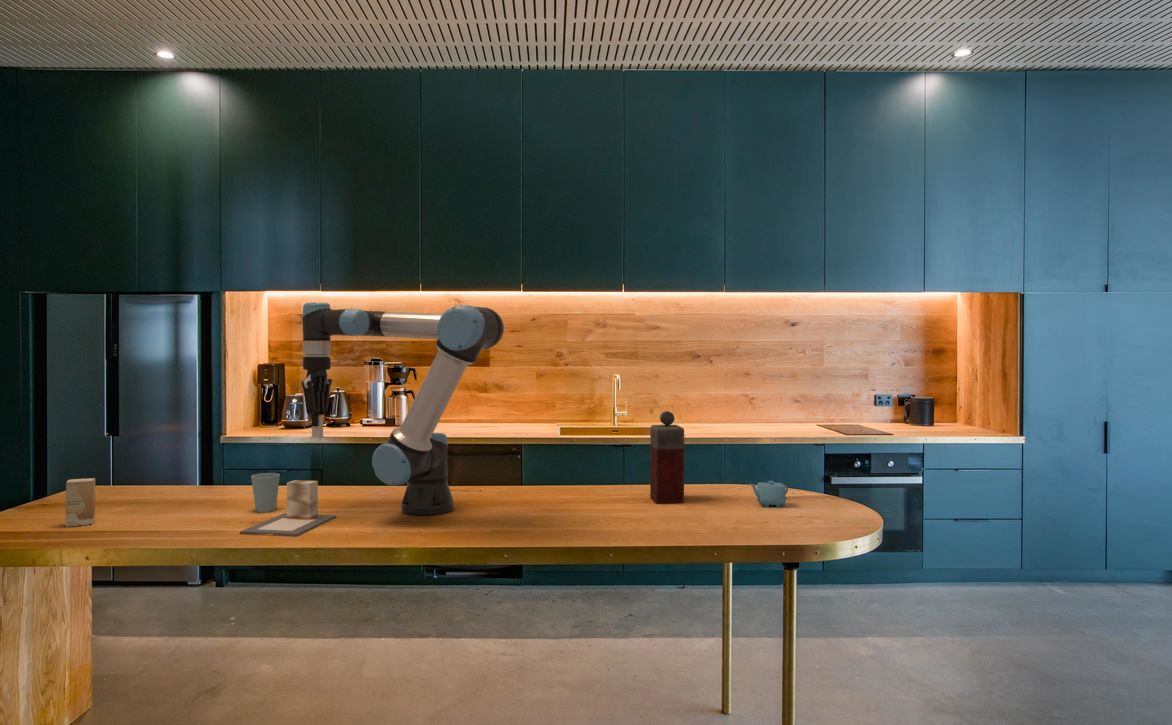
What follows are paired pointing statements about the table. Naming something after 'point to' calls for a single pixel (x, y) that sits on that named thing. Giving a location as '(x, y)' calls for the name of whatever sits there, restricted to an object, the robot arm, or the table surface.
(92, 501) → the skincare box
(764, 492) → the teapot
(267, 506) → the cup
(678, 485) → the pepper mill
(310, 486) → the block
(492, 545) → the table surface
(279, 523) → the mat
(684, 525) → the table surface
